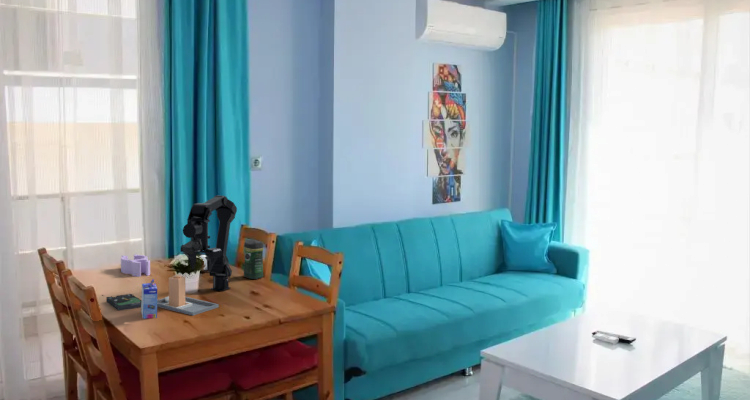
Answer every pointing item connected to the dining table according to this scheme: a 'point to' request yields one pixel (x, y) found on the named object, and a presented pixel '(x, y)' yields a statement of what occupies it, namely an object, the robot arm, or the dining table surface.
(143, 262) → the clip
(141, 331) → the dining table surface
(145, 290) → the ink cartridge box
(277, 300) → the dining table surface
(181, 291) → the block
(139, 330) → the dining table surface
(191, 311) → the grey rectangular tray
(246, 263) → the coffee jar
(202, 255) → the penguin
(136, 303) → the disk drive
